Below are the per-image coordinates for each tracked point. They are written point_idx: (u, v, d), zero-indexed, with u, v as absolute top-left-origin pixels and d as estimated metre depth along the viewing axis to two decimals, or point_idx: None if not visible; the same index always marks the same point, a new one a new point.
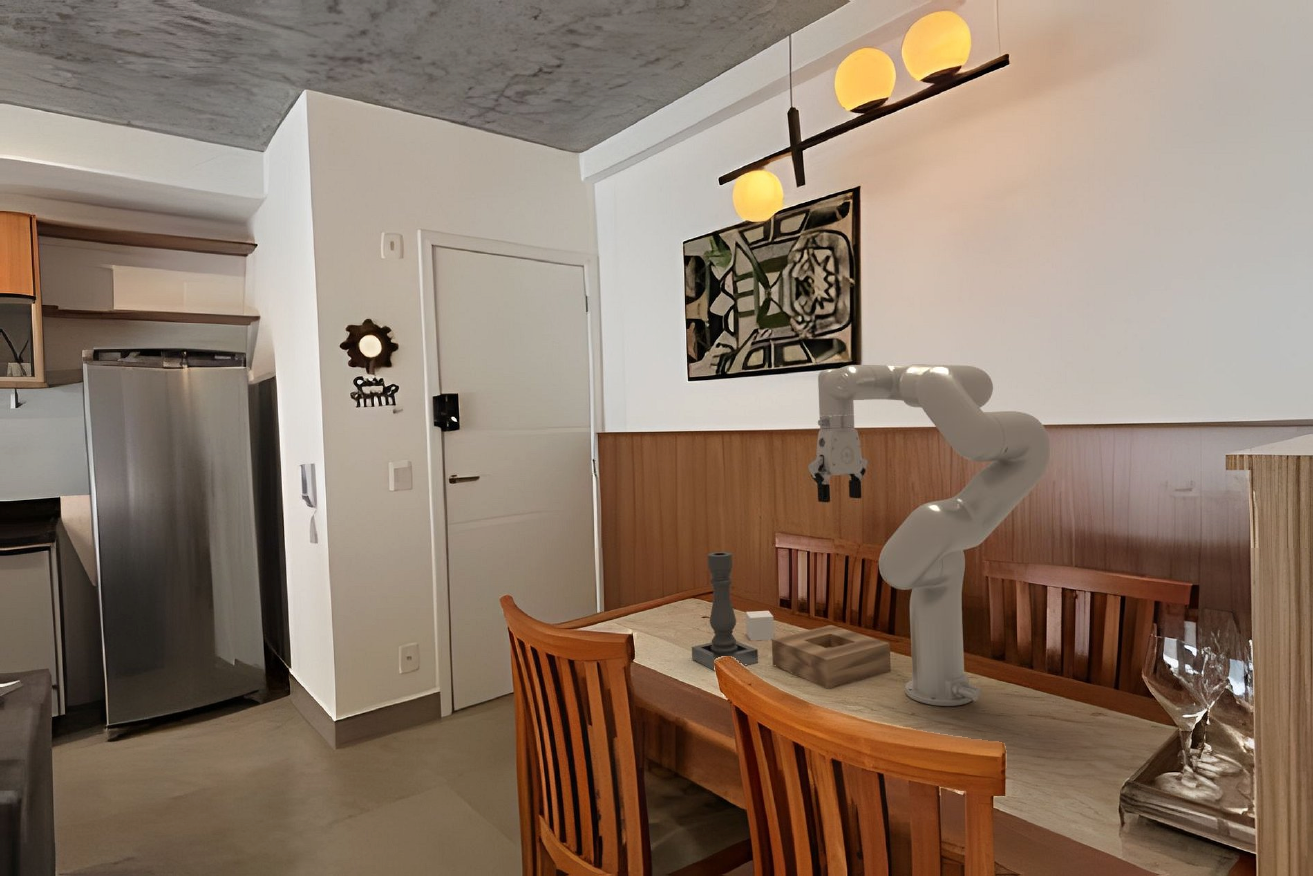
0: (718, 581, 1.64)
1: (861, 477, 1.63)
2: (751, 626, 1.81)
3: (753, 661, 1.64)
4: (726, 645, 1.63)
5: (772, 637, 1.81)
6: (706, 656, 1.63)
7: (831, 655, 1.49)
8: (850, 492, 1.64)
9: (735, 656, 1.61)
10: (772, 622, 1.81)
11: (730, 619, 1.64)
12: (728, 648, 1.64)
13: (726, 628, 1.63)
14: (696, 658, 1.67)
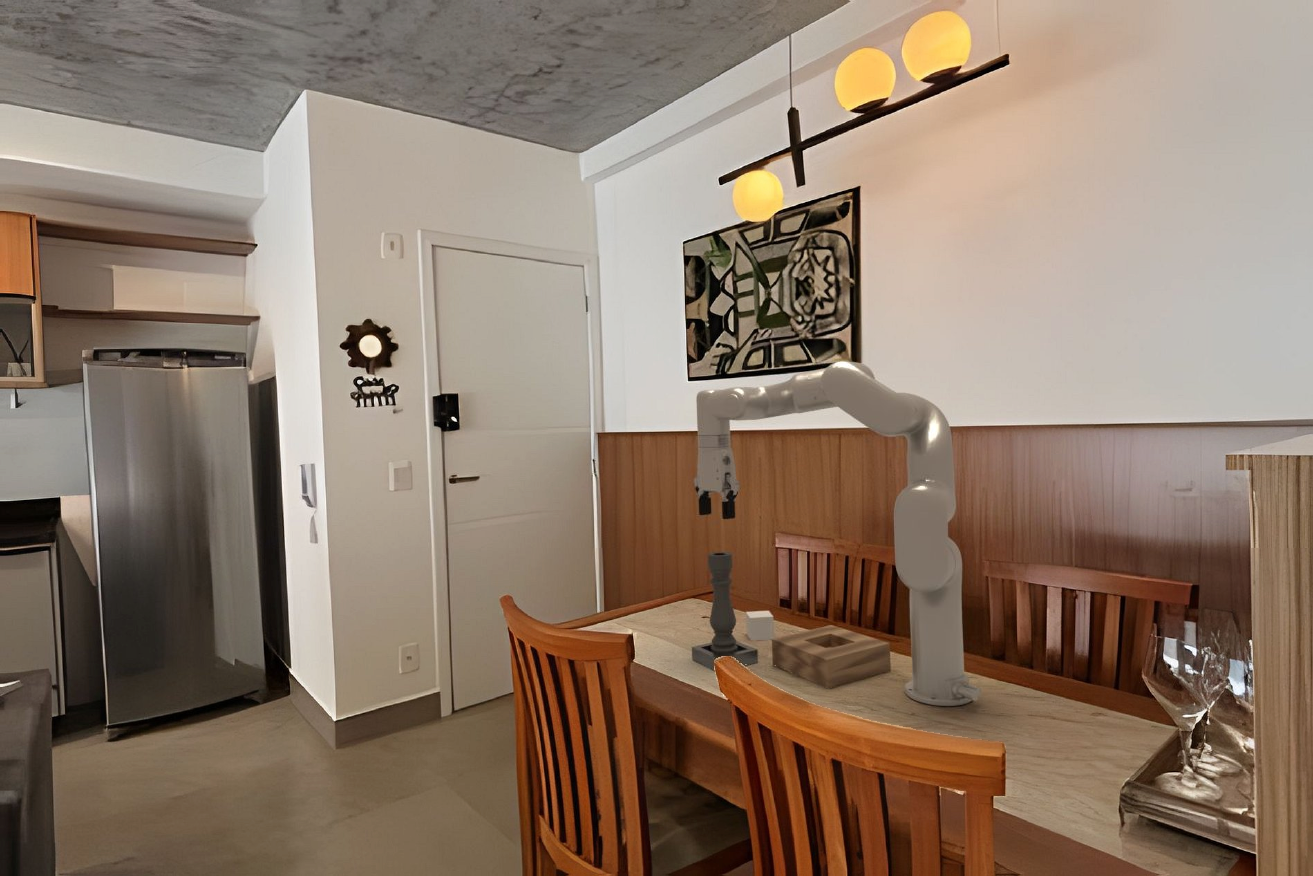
0: (718, 581, 1.64)
1: None
2: (751, 626, 1.81)
3: (753, 661, 1.64)
4: (726, 645, 1.63)
5: (772, 637, 1.81)
6: (706, 656, 1.63)
7: (831, 655, 1.49)
8: (702, 510, 1.69)
9: (735, 656, 1.61)
10: (772, 622, 1.81)
11: (730, 619, 1.64)
12: (728, 648, 1.64)
13: (726, 628, 1.63)
14: (696, 658, 1.67)
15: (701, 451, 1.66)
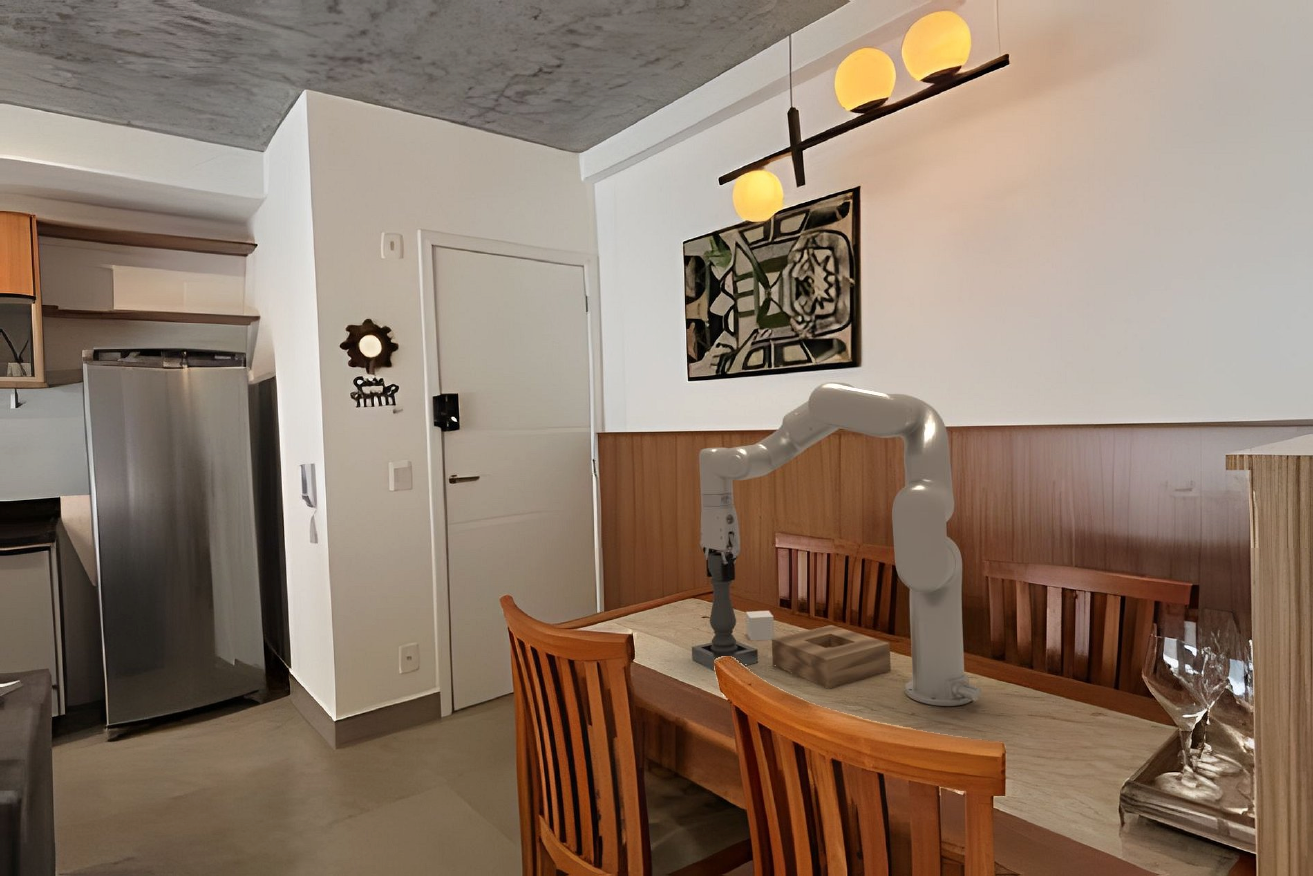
0: (718, 581, 1.64)
1: None
2: (751, 626, 1.81)
3: (753, 661, 1.64)
4: (726, 645, 1.63)
5: (772, 637, 1.81)
6: (706, 656, 1.63)
7: (831, 655, 1.49)
8: None
9: (735, 656, 1.61)
10: (772, 622, 1.81)
11: (730, 619, 1.64)
12: (727, 648, 1.64)
13: (726, 628, 1.63)
14: (696, 658, 1.67)
15: (704, 509, 1.66)
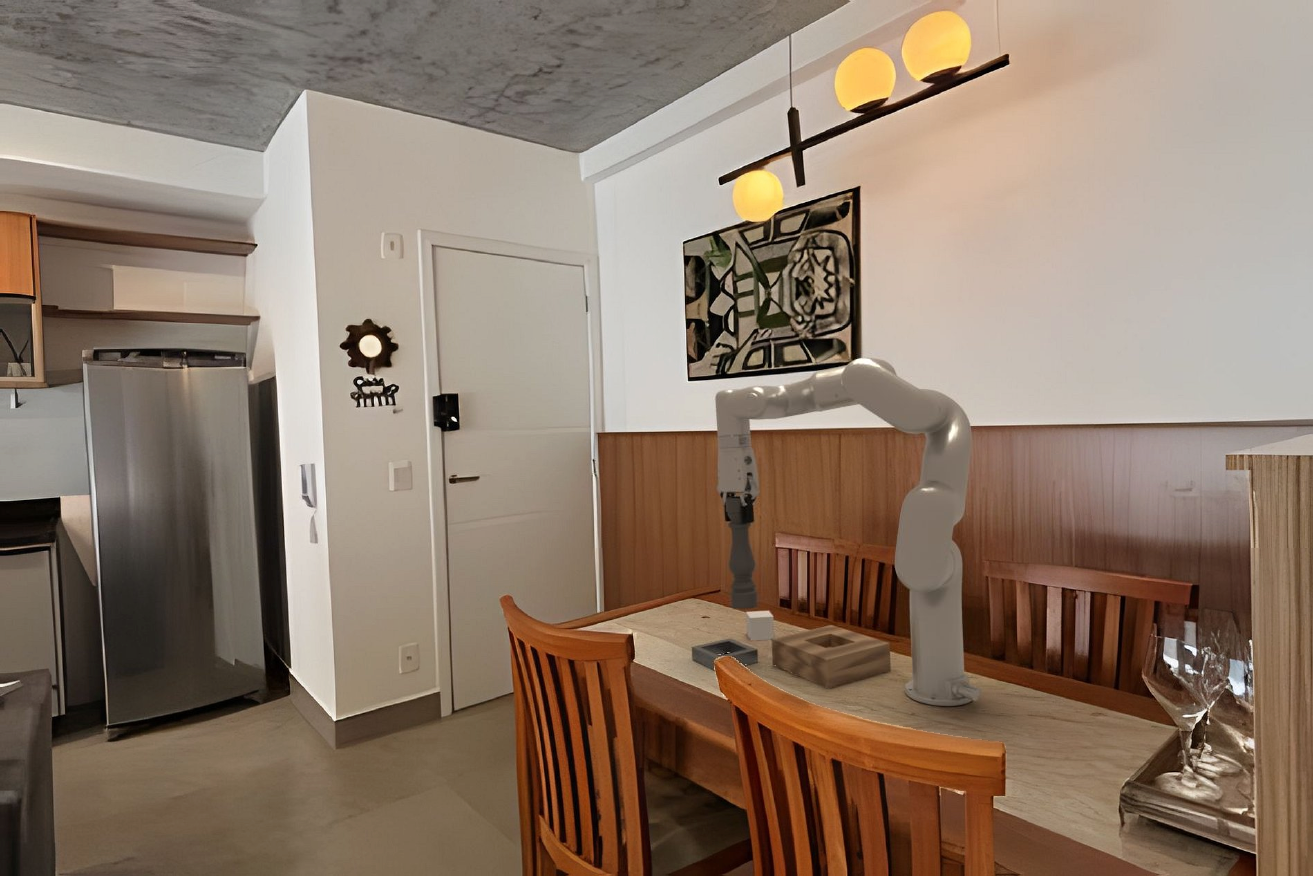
0: (737, 524, 1.62)
1: None
2: (751, 626, 1.81)
3: (753, 661, 1.64)
4: (746, 588, 1.61)
5: (772, 637, 1.81)
6: (706, 656, 1.63)
7: (831, 655, 1.49)
8: (728, 516, 1.66)
9: (735, 656, 1.61)
10: (772, 622, 1.81)
11: (749, 562, 1.62)
12: (748, 592, 1.62)
13: (745, 571, 1.61)
14: (696, 658, 1.67)
15: (721, 452, 1.65)
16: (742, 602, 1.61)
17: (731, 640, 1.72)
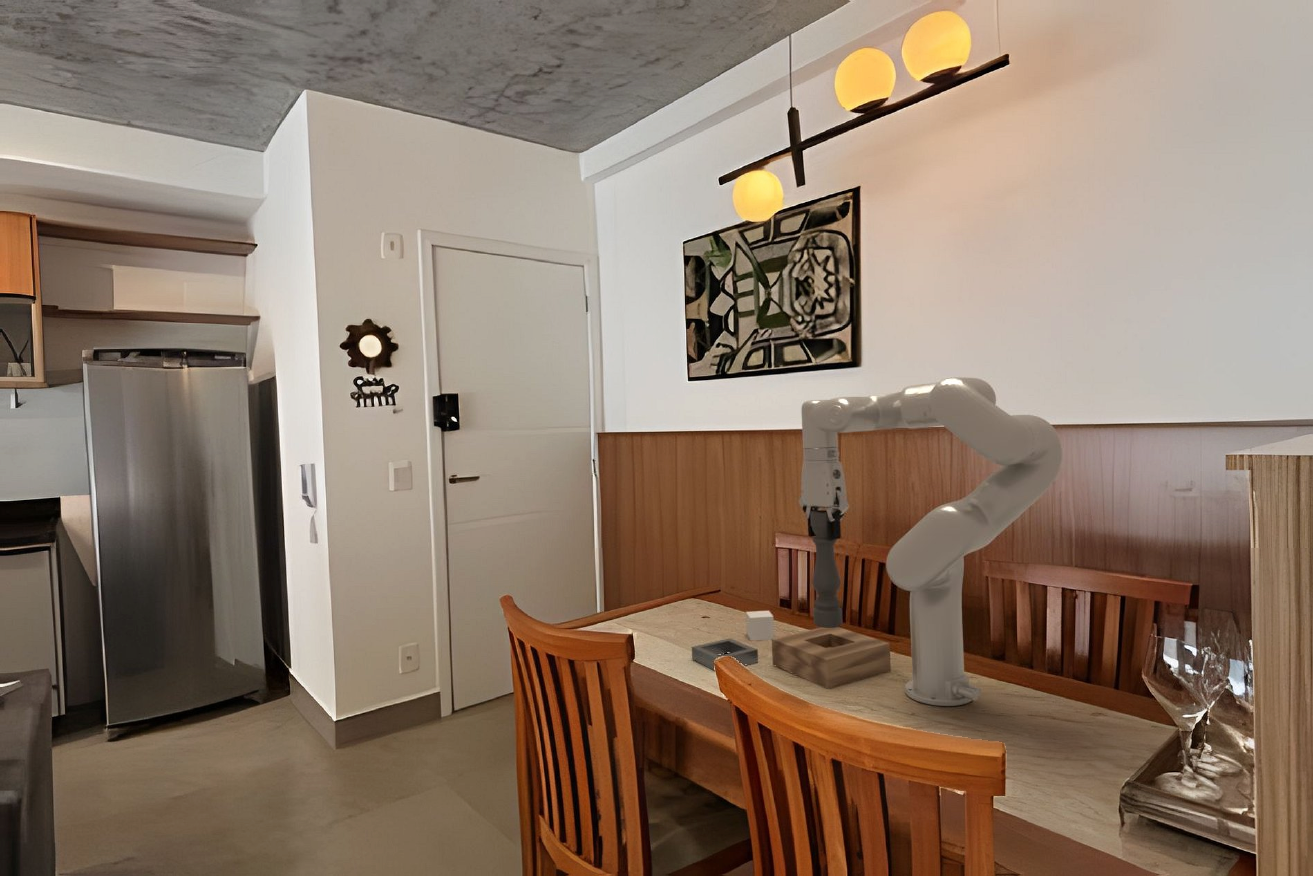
0: (823, 540, 1.56)
1: None
2: (751, 626, 1.81)
3: (753, 661, 1.64)
4: (831, 606, 1.55)
5: (772, 637, 1.81)
6: (706, 656, 1.63)
7: (831, 655, 1.49)
8: (812, 531, 1.60)
9: (735, 656, 1.61)
10: (772, 622, 1.81)
11: (835, 579, 1.56)
12: (833, 610, 1.56)
13: (831, 589, 1.55)
14: (696, 658, 1.67)
15: (807, 464, 1.58)
16: (827, 620, 1.55)
17: (731, 640, 1.72)
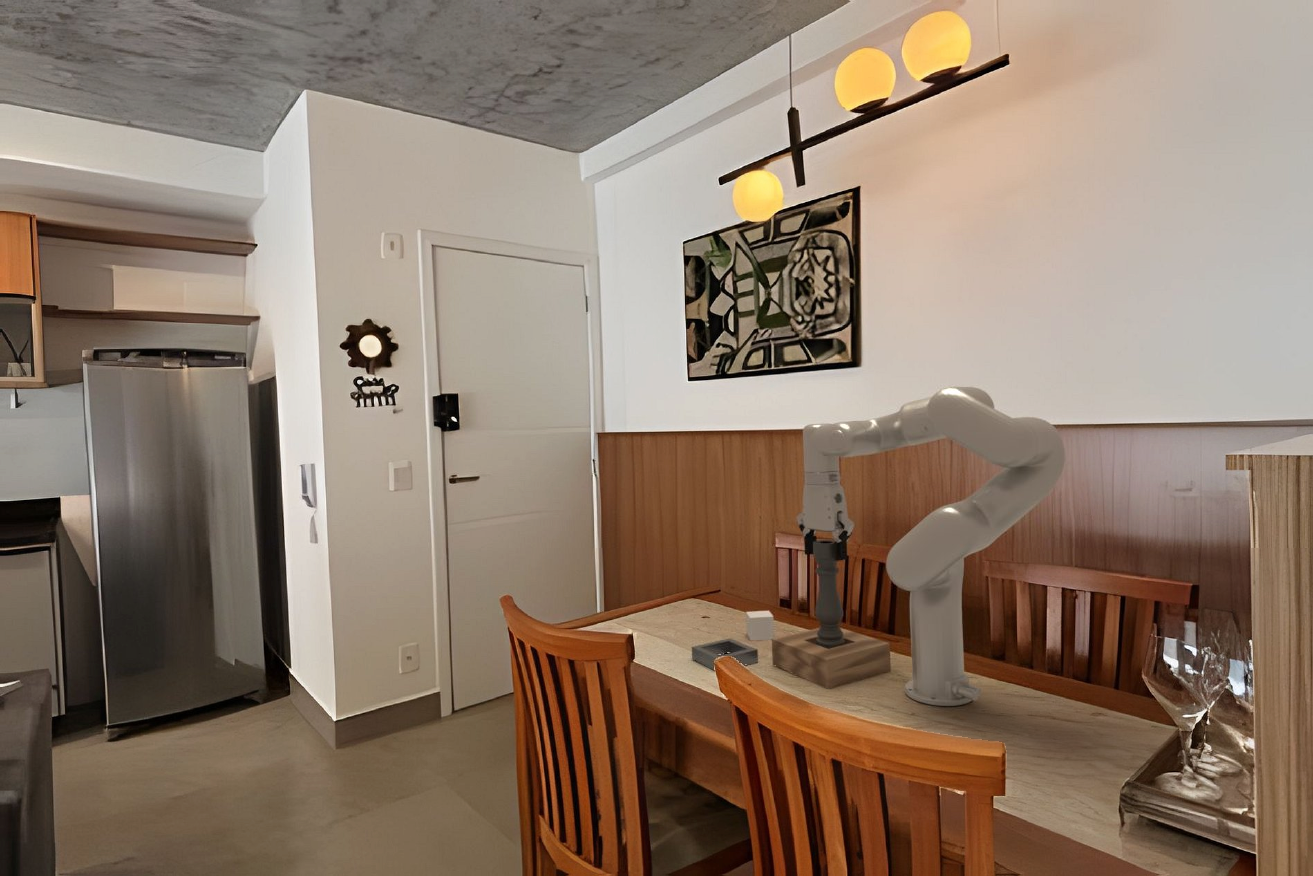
0: (826, 571, 1.56)
1: None
2: (751, 626, 1.81)
3: (753, 661, 1.64)
4: (834, 637, 1.55)
5: (772, 637, 1.81)
6: (706, 656, 1.63)
7: (831, 655, 1.49)
8: (808, 549, 1.61)
9: (735, 656, 1.61)
10: (772, 622, 1.81)
11: (838, 610, 1.56)
12: (836, 641, 1.56)
13: (834, 620, 1.55)
14: (696, 658, 1.67)
15: (808, 488, 1.58)
16: None
17: (731, 640, 1.72)
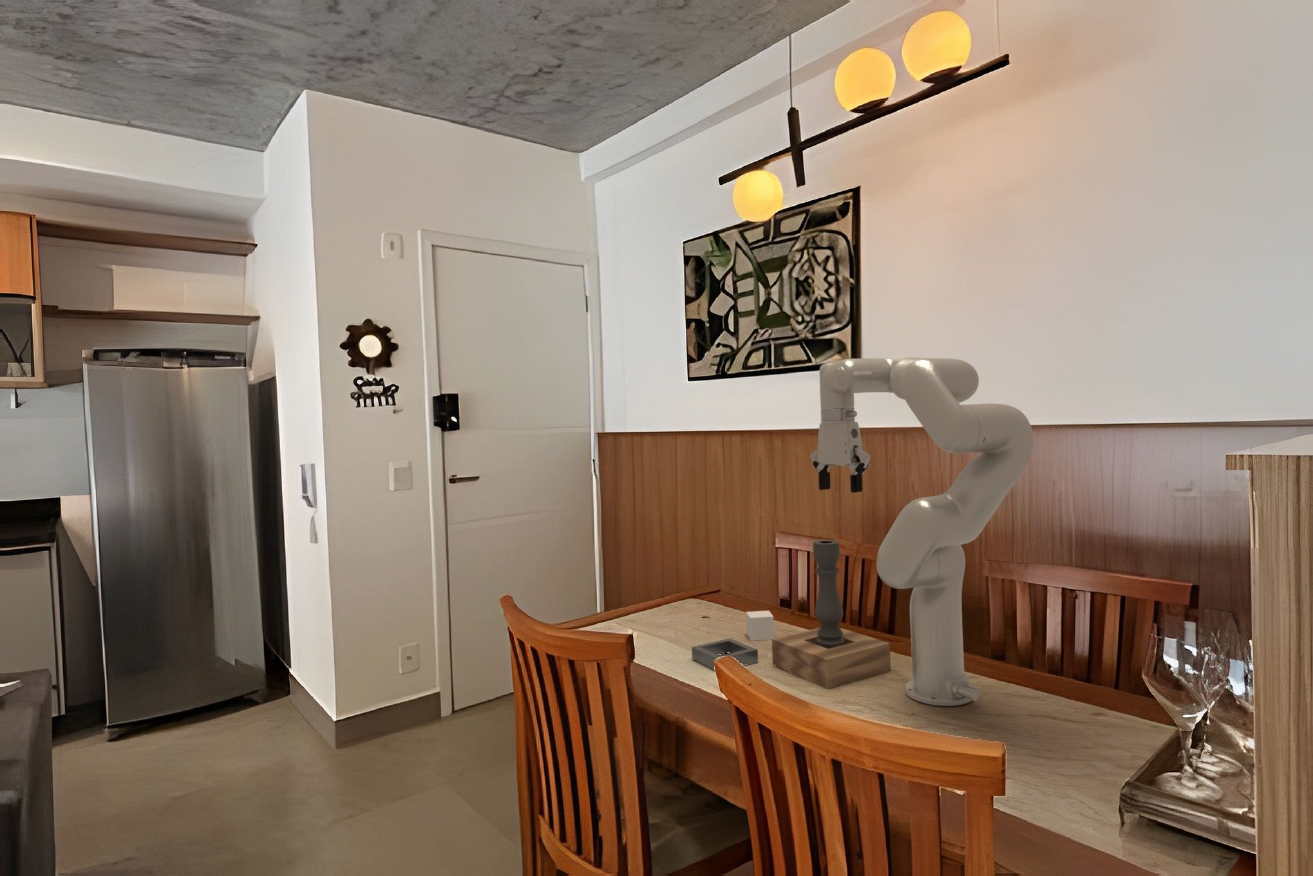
0: (826, 571, 1.56)
1: None
2: (751, 626, 1.81)
3: (753, 661, 1.64)
4: (834, 637, 1.55)
5: (772, 637, 1.81)
6: (706, 656, 1.63)
7: (831, 655, 1.49)
8: (822, 484, 1.67)
9: (735, 656, 1.61)
10: (772, 622, 1.81)
11: (838, 610, 1.56)
12: (836, 641, 1.56)
13: (834, 620, 1.55)
14: (696, 658, 1.67)
15: (824, 425, 1.64)
16: None
17: (731, 640, 1.72)
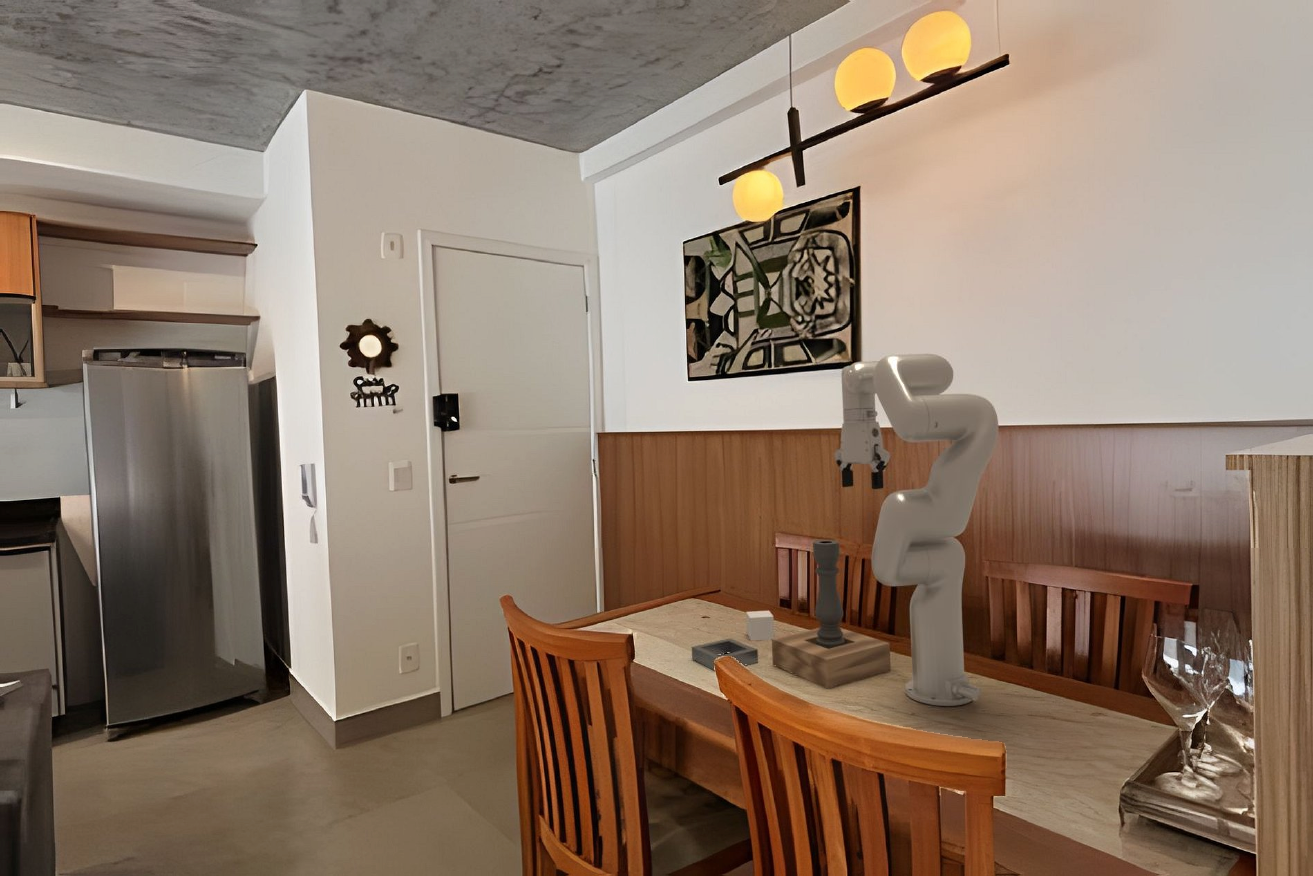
0: (826, 571, 1.56)
1: None
2: (751, 626, 1.81)
3: (753, 661, 1.64)
4: (834, 637, 1.55)
5: (772, 637, 1.81)
6: (706, 656, 1.63)
7: (831, 655, 1.49)
8: (845, 482, 1.75)
9: (735, 656, 1.61)
10: (772, 622, 1.81)
11: (838, 610, 1.56)
12: (836, 641, 1.56)
13: (834, 620, 1.55)
14: (696, 658, 1.67)
15: (846, 424, 1.72)
16: None
17: (731, 640, 1.72)
